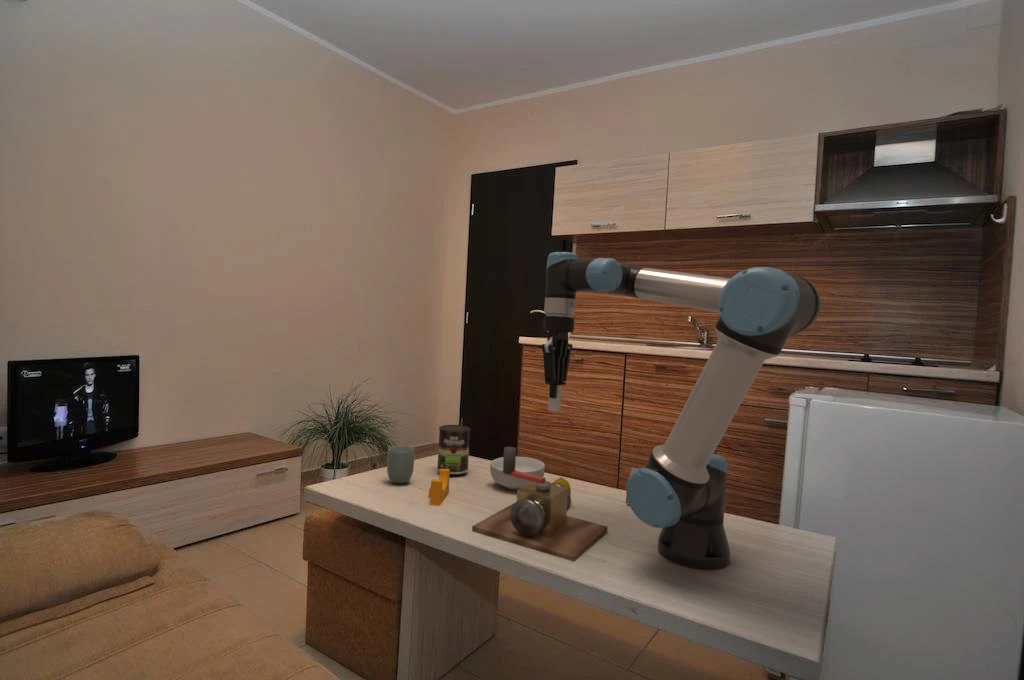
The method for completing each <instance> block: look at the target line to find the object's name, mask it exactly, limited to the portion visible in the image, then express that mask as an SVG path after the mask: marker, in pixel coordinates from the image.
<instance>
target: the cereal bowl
mask: <svg viewBox="0 0 1024 680" xmlns="http://www.w3.org/2000/svg"><path fill="white" fill-rule="evenodd" d="M503 460H504V456H501V457H498V458H495V459H493V460H491V461H490V466H489V467H490V468H489V469H490V475H491V478H492V479H493V480H494V482H496V484H498V485H500V486H503V487H504V488H506V489H508V490H513V491H517V490H518V489H520V488H522V487H524V486H526V485H528V484H530V483H532V481H528V480H525V479H521V478H517V477H513V476H509V475H505V474H503ZM545 467H546V465H545V463H544V462H543V461H541V460H539V459H536V458H532V457H526V456H516V460H515V471H519V472H524V473H528V474H532V475H536V476H540V477H544V475H545V471H546V469H545Z"/></svg>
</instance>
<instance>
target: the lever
mask: <svg viewBox="0 0 1024 680" xmlns="http://www.w3.org/2000/svg"><path fill="white" fill-rule="evenodd" d="M516 453H517V448H516V447H513V446H505V447H504V448H503V457H504V460H503V474H505V475H509V476H513V477H517V478H521V479H525V480H528V481H532V482H536V489H538V490H550V489H551V483H552V482H551V481H548V480H546V477H544V476H543V477H540V476H536V475H532V474H528V473H524V472H519V471H515V460H516V457H517V454H516Z"/></svg>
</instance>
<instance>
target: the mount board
mask: <svg viewBox="0 0 1024 680" xmlns="http://www.w3.org/2000/svg"><path fill="white" fill-rule="evenodd" d="M516 502H517V501H515V502H514V503H512V504H510V505H508V506H506V507H504V508H503V509H501V510H499V511H497V512H495V513H493V514H492V515H490V516H488V517H486V518H484V519H482V520H481V521H479V522H477V523H475V524H473V525H472V527H471V532H474V533H476V532H477V534H480V535H484V536H487V537H490V538H495V539H496V540H500V541H503V542H507V543H510V544H514V545H517V546H521V547H525V548H527V549H529V550H530V549H531V550H534V551H537V552H540V553H541V552H542V553H544V554H548V555H551V556H554V557H558V558H561V559H565V560H568V561H571V562H575V561H576V560H577V559H578V558H579V557H581V556H582V555H583V554H584V553H585V552H587V551H588V550H589V549H590V548H591V547H592V546H594V545H595V544H596V543H597V542H598V541H599V540H601V539H602V538H603V537H604V536H605V535H606V534H607V533H608V528H609V526H607V525H603V524H601V523H600V524H599V523H595V522H591V521H588V520H584V519H581V518H577V517H572V516H569V515H567V518H566V525H565V526H564V527H563V528H562V529H560V530H559V531H558V532H556V533H555V534H554V535H552V536H551V537H550V538H549V537H546V536H542V535H539V534H535V535H533V536H525V535H522V534H520V533H519V532H518V531H517V530H516V529H515V528H514V526H513V524H512V522H511V517H510V513H511V509H512V506H513V505H514V504H515V503H516Z"/></svg>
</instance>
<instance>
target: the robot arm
mask: <svg viewBox="0 0 1024 680" xmlns="http://www.w3.org/2000/svg"><path fill="white" fill-rule="evenodd" d="M579 292H580V293H583V292H587V293H588V292H589V293H590V292H592V293H593V292H594V293H600V294H607V295H608V294H609V295H619V296H624V297H630V298H636V299H642V300H647V301H652V302H658V303H662V304H663V303H664V304H669V305H674V306H680V307H685V308H691V309H696V310H700V311H705V312H706V311H707V312H712V313H716V314H717V313H718V314H719V315H720V316H719V317H718V320H717V321H716V324H715V326H714V331H715V334H716V336H717V341H716V343H715V345H714V347H713V350H712V351H711V353H710V355H709V357H708V359H707V361H706V363H705V364H704V366H703V369H702V370H701V372H700V375H698V379H697V380H696V383H695V385H694V386H693V388H692V389H691V390H692V391H691V392H690V394H689V396H688V398H687V400H686V401H685V404H684V406H683V408H682V410H681V412H680V414H679V415H678V418H677V420H676V421H675V423H674V425H673V427H672V429H671V431H670V433H669V435H668V437H667V439H666V441H665V442H664V443H663V444H659V445H656V446H654V448H653V450H652V451H651V453H650V455H649V457H648V459H647V461H646V463H645V465H644V466H643V467H640V468H637V470H636V471H635V472H634V473H632V474H631V475H630V477H629V476H628V477H629V479H628V478H627V481H626V486H625V487H626V488H625V492H626V493H625V494H627V498H628V500H629V507H630V509H631V510H632V512H633V513H634V515H635V516H636V517H637V518H638V519H639V520H640V521H641V522H642V523H644V524H645V525H647V526H649V527H652V528H657V529H661V530H660V533H659V535H658V539H657V551H658V552H659V554H661V556H662V557H663V558H665V559H667V560H669V561H670V562H673V563H674V564H677V565H680V566H683V567H685V568H686V567H687V568H691V569H695V570H702V571H704V570H705V571H717V570H721V569H724V568H726V567H728V566H729V565H730V562H731V549H730V544H729V542H728V536H727V534H726V530H725V526H724V519H725V518H724V517H725V508H726V507H725V506H726V492H727V491H726V490H727V480H728V464H727V463H728V461H727V460H726V458H725V457H723V456H721V455H719V454H716V453H715V451H716V450H717V447H718V446H719V444H720V442H721V440H722V439H723V438H724V435H725V433H726V431H727V430H728V428H729V427H730V424H731V422H732V420H733V419H734V417H735V415H736V414H737V412H738V410H739V408H740V406H741V404H742V402H743V401H744V400H745V398H746V395H747V394H748V392H749V390H750V389H751V386H752V385H753V382H754V380H755V379H756V377H757V376H758V374H759V373H760V370H761V369H762V366H763V364H764V363H765V361H767V360H769V359H772V358H776V357H779V355H780V354H781V352H782V350H783V348H784V346H785V345H786V343H787V341H788V339H789V338H790V336H795V335H797V334H800V333H802V332H804V331H806V330H807V329H809V328H810V327H811V326H812V325H813V324H814V323H815V322H816V321H817V318H818V317H819V314H820V312H821V304H822V302H821V297H820V293H819V291H818V289H817V288H816V286H815V285H814V284H813V283H812V282H811V281H810V280H808V279H807V278H805V277H803V276H801V275H798V274H794V273H791V272H787V271H783V270H782V269H779V268H774V267H771V266H770V267H768V266H764V267H763V266H755V267H749V268H746V269H745V270H741V271H739V272H738V273H736V274H735V275H733V276H732V277H731V278H730V277H722V276H721V277H720V276H715V275H714V276H713V275H707V274H698V273H691V272H690V273H689V272H684V271H683V272H682V271H676V270H666V269H660V268H650V267H644V266H638V265H637V266H635V265H630V264H629V265H628V264H624V263H623V264H622V263H619V262H618V261H617V260H616V259H615V258H611V257H597V258H591V259H590V258H589V259H580V260H579V257H578V254H576V253H574V252H569V251H555V252H550V253H549V254H548V256H547V261H546V269H545V295H544V309H543V310H544V311H543V313H544V315H546V316H544V318H543V328H542V329H543V331H544V332H548V333H547V334H548V335H547V340H546V341H547V342H546V343H542V344H541V350H542V355H543V356H542V357H543V371H544V382H545V385H549V389H548V403H547V404H548V405H547V410H548V411H549V412H554V413H555V412H556V413H559V412H561V409H562V394H563V393H562V392H563V391H562V390H563V389H562V388H563V386H566V385H567V380H568V379H567V378H568V372H569V365H570V359H571V353H572V351H573V350H572V349H573V347H574V346H573V345H574V344H572V343H569V334H570V333H573V332H575V318H574V317H573V316H575V311H576V307H577V303H576V298H577V293H579Z"/></svg>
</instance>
